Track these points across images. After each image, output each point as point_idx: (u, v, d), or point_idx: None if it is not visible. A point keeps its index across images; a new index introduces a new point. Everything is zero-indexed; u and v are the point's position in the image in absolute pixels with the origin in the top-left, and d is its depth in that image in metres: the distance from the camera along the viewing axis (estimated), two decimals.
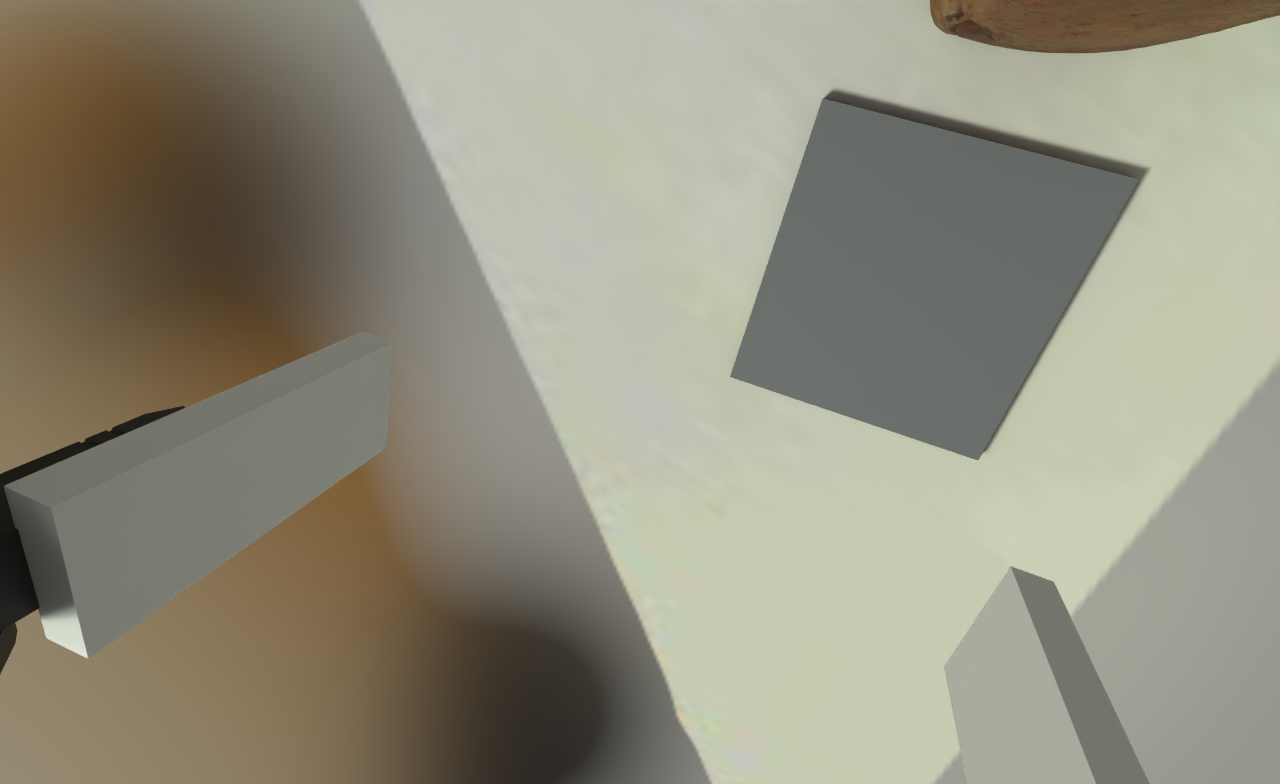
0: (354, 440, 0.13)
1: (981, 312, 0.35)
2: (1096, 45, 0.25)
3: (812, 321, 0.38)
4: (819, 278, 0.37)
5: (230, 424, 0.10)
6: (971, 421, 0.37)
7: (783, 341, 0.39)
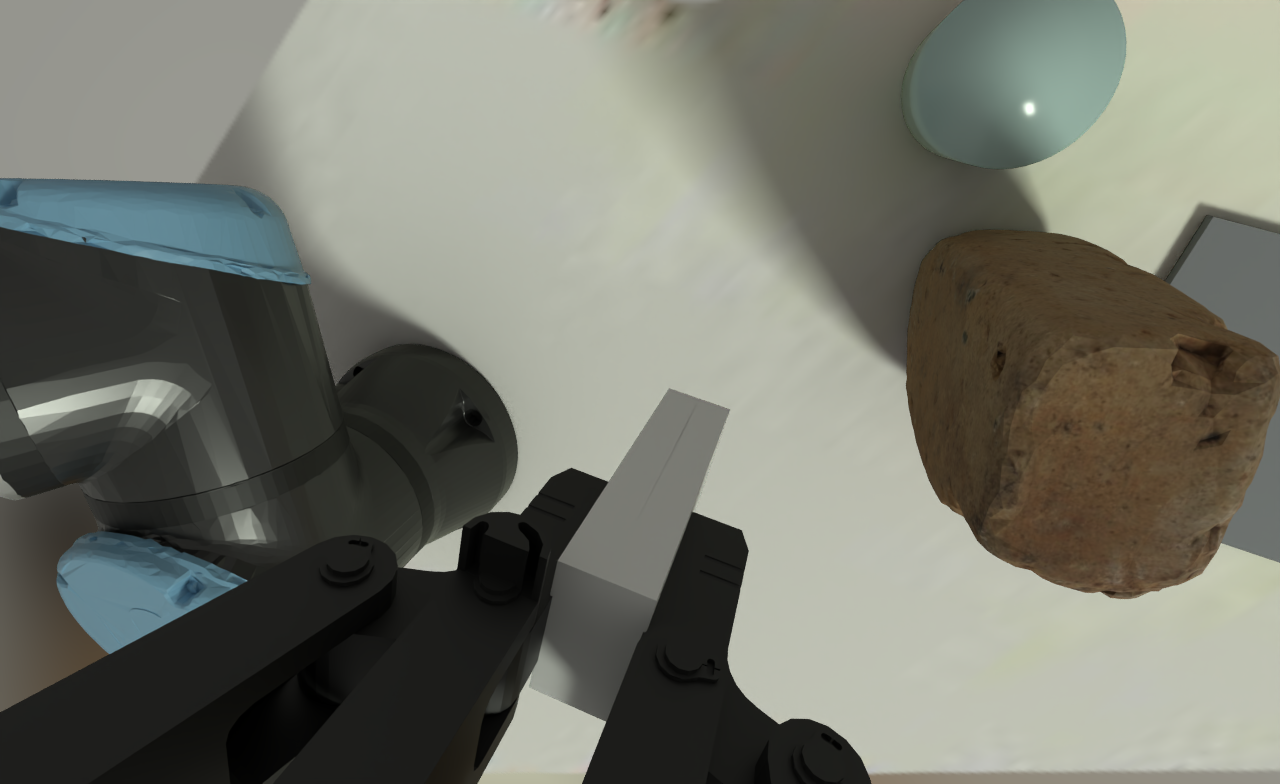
0: None
1: None
2: None
3: None
4: None
5: (654, 490, 0.11)
6: None
7: None
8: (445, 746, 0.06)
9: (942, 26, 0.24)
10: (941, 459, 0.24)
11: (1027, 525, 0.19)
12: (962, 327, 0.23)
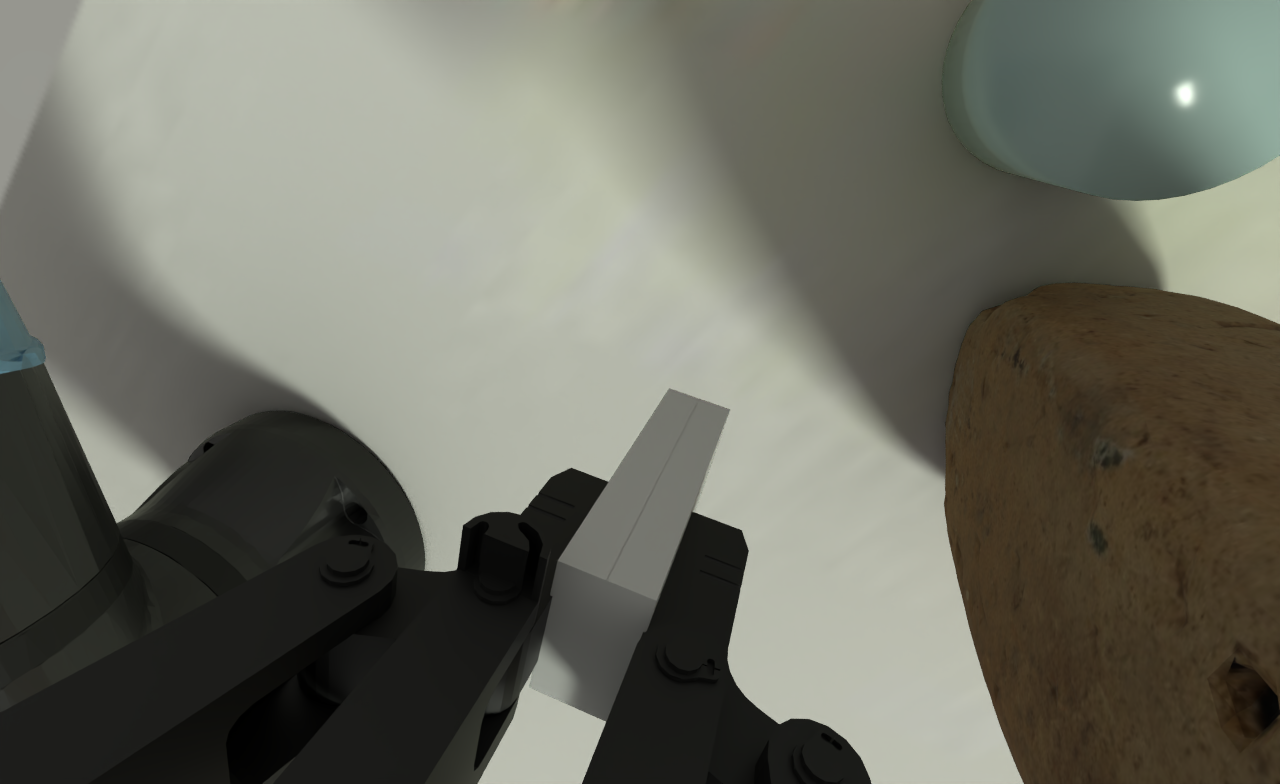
0: None
1: None
2: None
3: None
4: None
5: (654, 490, 0.11)
6: None
7: None
8: (445, 746, 0.06)
9: None
10: (1040, 747, 0.13)
11: None
12: (1086, 509, 0.12)
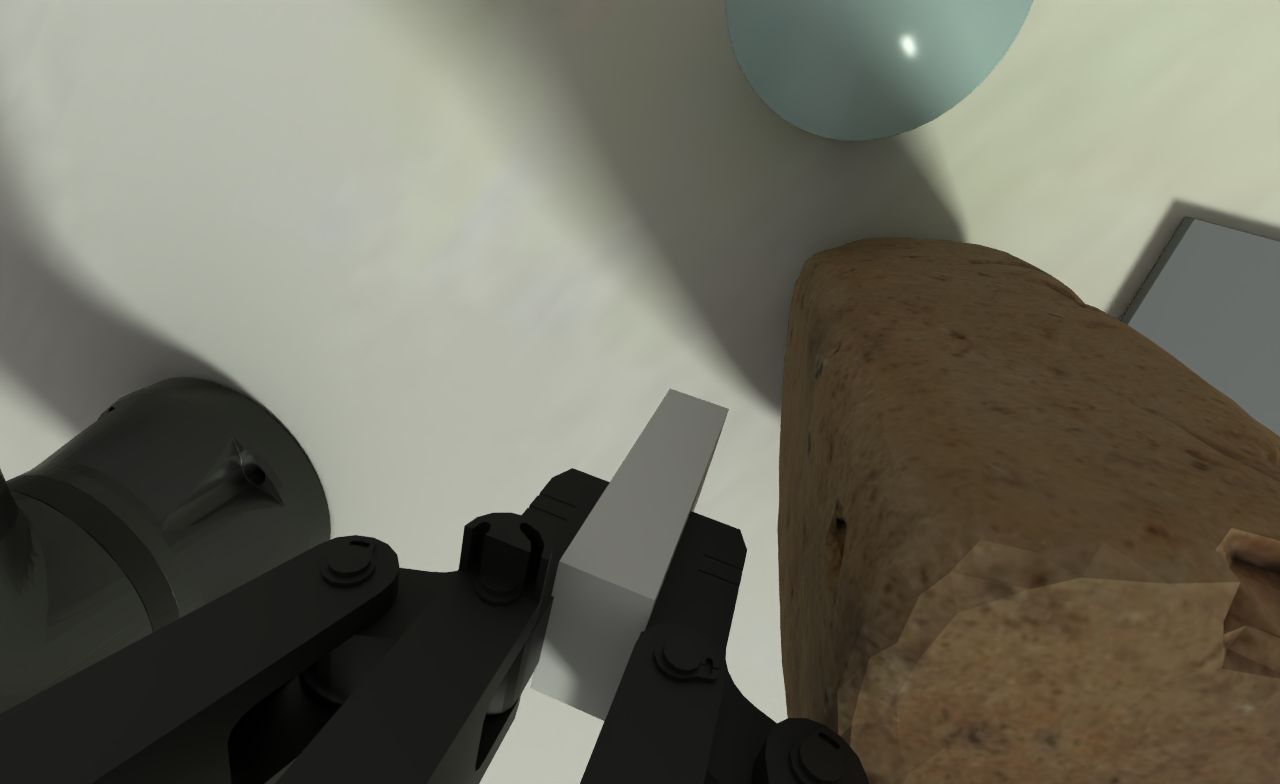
0: None
1: None
2: None
3: None
4: None
5: (655, 491, 0.11)
6: None
7: None
8: (447, 747, 0.06)
9: None
10: (785, 644, 0.14)
11: None
12: (809, 421, 0.13)
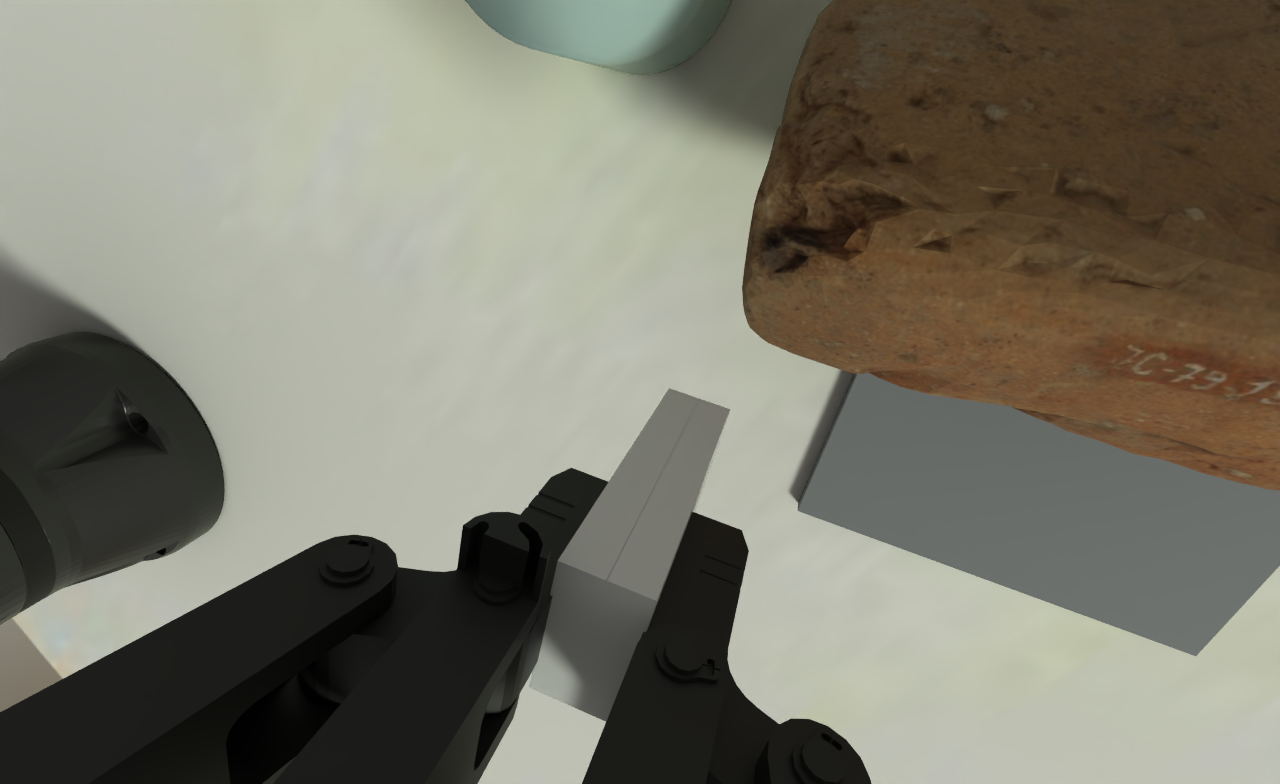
0: None
1: None
2: None
3: (1114, 543, 0.25)
4: (1040, 529, 0.26)
5: (654, 490, 0.11)
6: None
7: (1143, 582, 0.25)
8: (445, 746, 0.06)
9: None
10: None
11: None
12: None
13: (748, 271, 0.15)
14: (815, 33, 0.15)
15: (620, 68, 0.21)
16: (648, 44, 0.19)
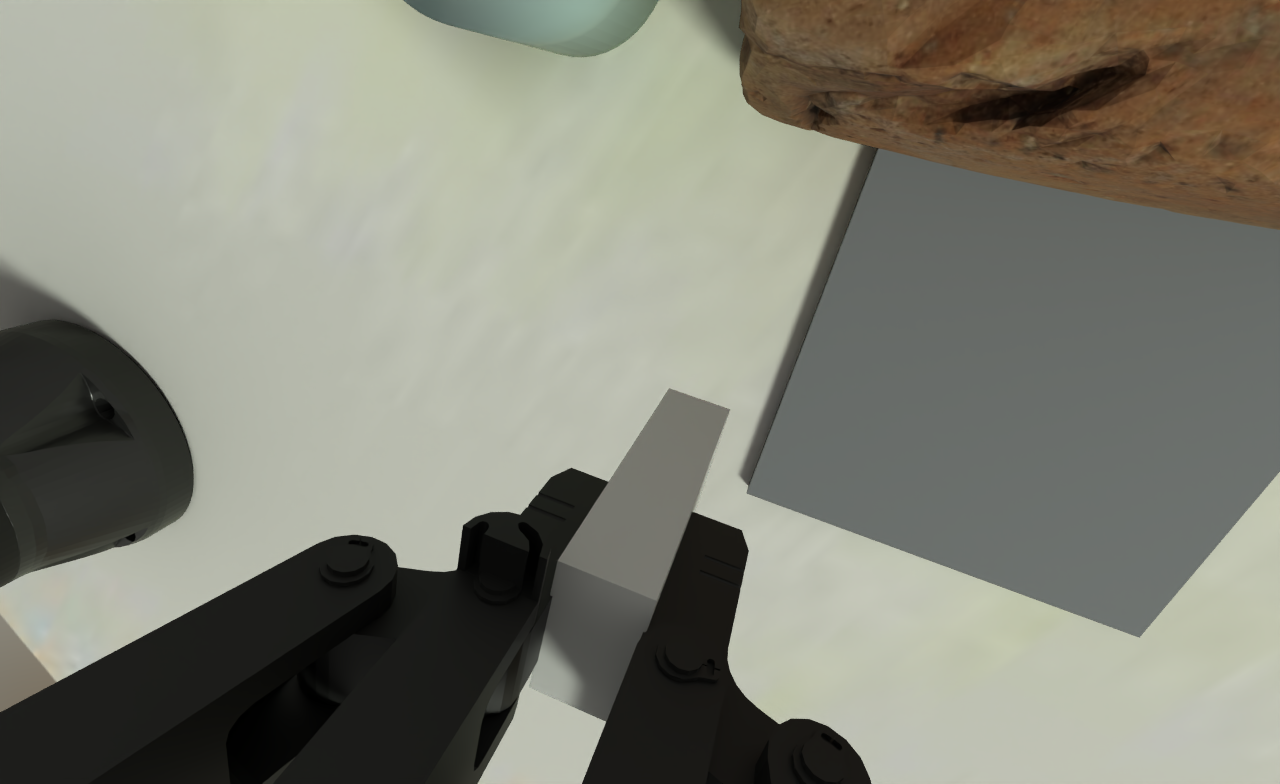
0: None
1: (1082, 300, 0.22)
2: (931, 157, 0.18)
3: (1055, 523, 0.25)
4: (983, 510, 0.26)
5: (654, 490, 0.11)
6: None
7: (1085, 563, 0.25)
8: (445, 746, 0.06)
9: None
10: None
11: None
12: None
13: None
14: None
15: (553, 49, 0.21)
16: (570, 22, 0.19)
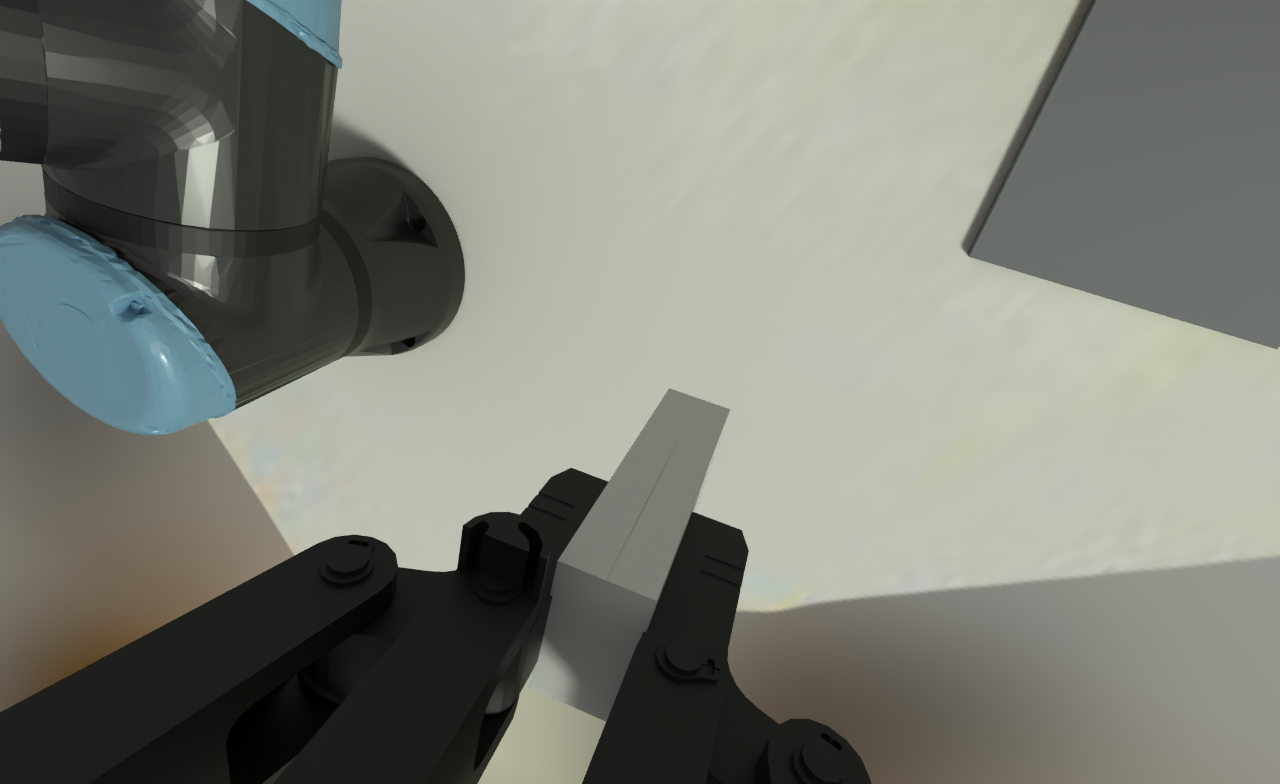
0: None
1: (1259, 70, 0.31)
2: None
3: (1220, 257, 0.34)
4: (1163, 252, 0.34)
5: (654, 490, 0.11)
6: None
7: (1240, 289, 0.34)
8: (445, 747, 0.06)
9: None
10: None
11: None
12: None
13: None
14: None
15: None
16: None
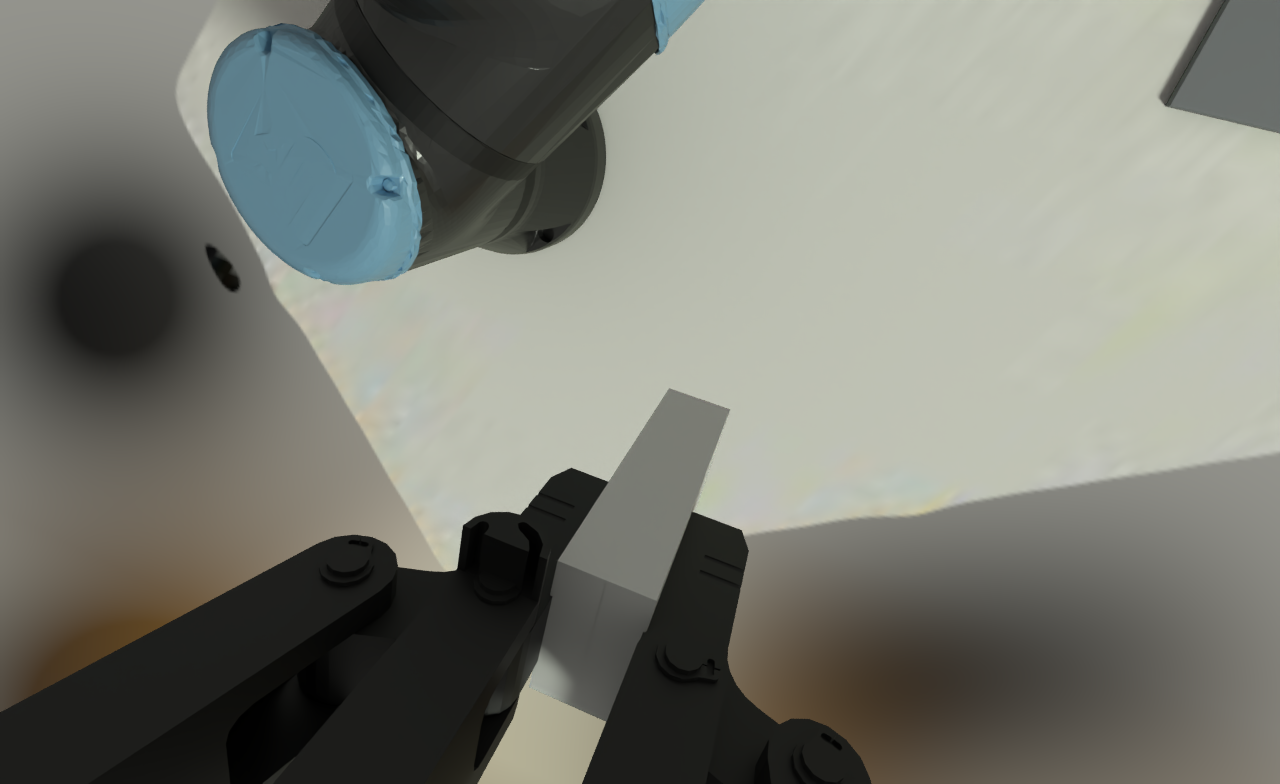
0: None
1: None
2: None
3: None
4: None
5: (654, 490, 0.11)
6: None
7: None
8: (445, 746, 0.06)
9: None
10: None
11: None
12: None
13: None
14: None
15: None
16: None
